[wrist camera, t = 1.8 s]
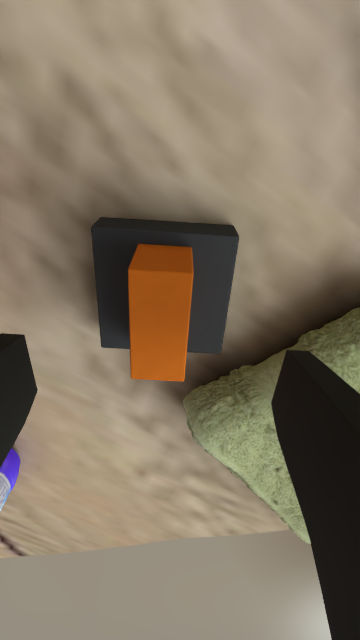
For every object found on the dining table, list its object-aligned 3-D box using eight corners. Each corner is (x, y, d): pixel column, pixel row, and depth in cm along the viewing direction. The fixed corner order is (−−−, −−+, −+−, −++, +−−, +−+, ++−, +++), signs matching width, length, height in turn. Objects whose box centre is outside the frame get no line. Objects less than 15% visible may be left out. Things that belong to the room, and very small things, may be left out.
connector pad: (107, 329, 15) (86, 387, 12) (100, 216, 13) (68, 249, 9) (217, 336, 16) (227, 394, 12) (234, 225, 13) (252, 260, 9)
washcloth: (304, 525, 25) (319, 575, 22) (167, 388, 17) (163, 437, 15) (491, 465, 21) (538, 517, 18) (414, 254, 13) (475, 286, 11)
